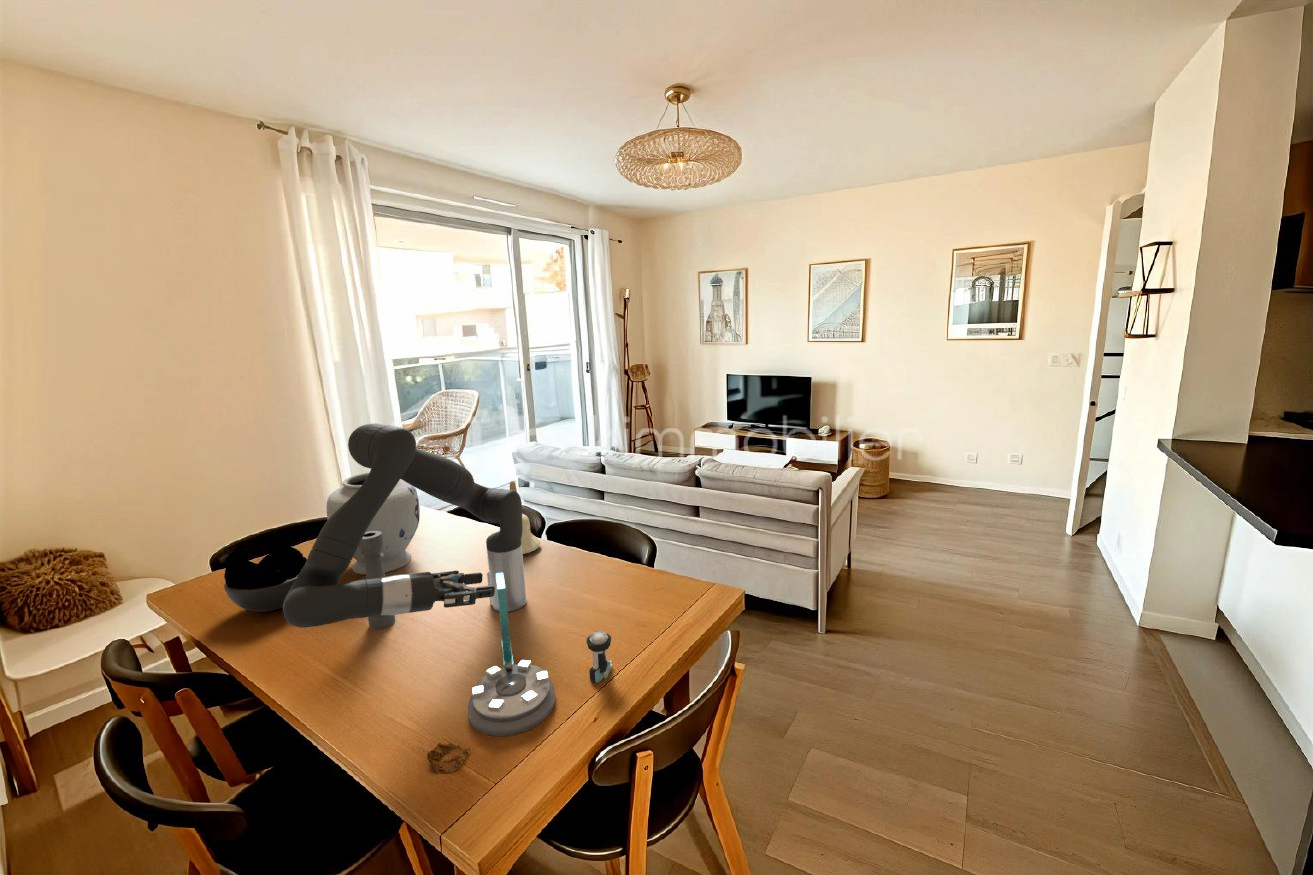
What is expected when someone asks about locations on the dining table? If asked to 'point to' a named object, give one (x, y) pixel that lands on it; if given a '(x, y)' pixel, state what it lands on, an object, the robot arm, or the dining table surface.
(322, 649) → the dining table surface
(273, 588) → the coal bowl
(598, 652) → the push button
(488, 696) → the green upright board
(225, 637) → the dining table surface
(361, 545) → the candle holder
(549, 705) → the round gray base
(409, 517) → the grey ceramic vase
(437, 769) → the leaf
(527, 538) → the handbell
